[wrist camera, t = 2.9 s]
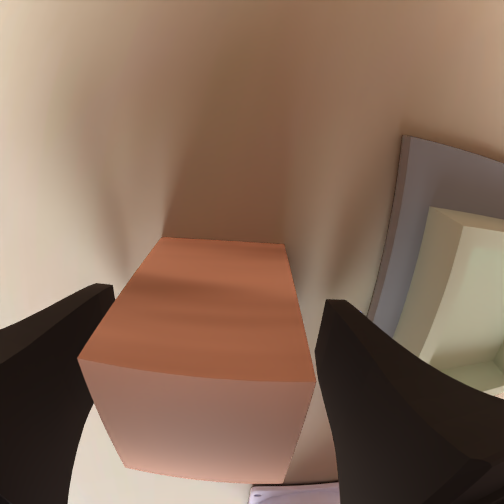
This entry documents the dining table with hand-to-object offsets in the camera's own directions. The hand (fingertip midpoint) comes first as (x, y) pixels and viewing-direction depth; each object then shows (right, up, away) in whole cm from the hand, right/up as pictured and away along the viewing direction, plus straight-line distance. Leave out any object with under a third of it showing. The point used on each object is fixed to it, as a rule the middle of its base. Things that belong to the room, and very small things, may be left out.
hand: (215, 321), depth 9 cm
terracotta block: (0, +1, +2) cm, 2 cm away
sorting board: (+15, 0, +2) cm, 16 cm away
